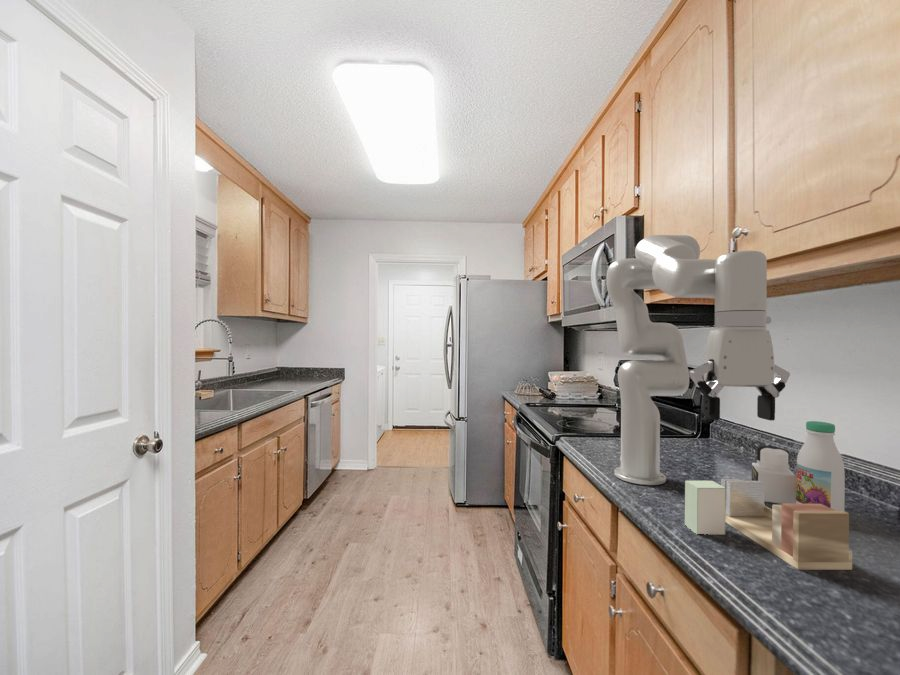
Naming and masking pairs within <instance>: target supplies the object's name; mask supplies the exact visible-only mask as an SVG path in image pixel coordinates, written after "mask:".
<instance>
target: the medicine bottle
mask: <svg viewBox="0 0 900 675" xmlns="http://www.w3.org/2000/svg"><path fill="white" fill-rule="evenodd" d="M756 448H757V447H756ZM751 481H763V482H765V502H766V503H772V504H776V505H782V504H796V474H794V472H793V471H792V470H791V469H790V452H789V451H788V450H787V449H785V448H782V447H778V446H773V445H762V446H758V448H757V449H756V462H752V463H751Z"/></svg>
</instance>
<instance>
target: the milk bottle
mask: <svg viewBox="0 0 900 675" xmlns="http://www.w3.org/2000/svg"><path fill="white" fill-rule="evenodd" d="M805 429H806V430H805V432H806V433H807V434H806V435H807V436H806V439H805V441H804V442H803V445H801V447H800V449H799V451H798V453H797V457H796V468H795V470H796V471H795V476H796V497H795V504H822V505H825V506H827V507H829V508H831V509H834V510H836V511H845V507H846V506H845V501H846V500H845V496H846V494H845V493H846V491H845V489H846V488H845V487H846V482H845V481H846V480H845V479H846V478H845V475H846V474H845V465H844V464H845V463H844V461H843V458H842V455H841V453H840V451H839V450H838V448H837V446H836V443H835V439H834V436H835V435H836V434H835V432H836V425H835V424H834V423H830V422H825V421H815V420H811V421H806V422H805Z"/></svg>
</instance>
